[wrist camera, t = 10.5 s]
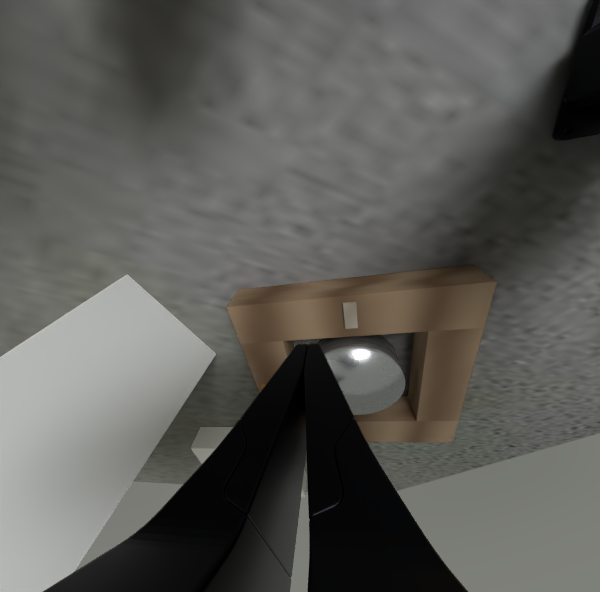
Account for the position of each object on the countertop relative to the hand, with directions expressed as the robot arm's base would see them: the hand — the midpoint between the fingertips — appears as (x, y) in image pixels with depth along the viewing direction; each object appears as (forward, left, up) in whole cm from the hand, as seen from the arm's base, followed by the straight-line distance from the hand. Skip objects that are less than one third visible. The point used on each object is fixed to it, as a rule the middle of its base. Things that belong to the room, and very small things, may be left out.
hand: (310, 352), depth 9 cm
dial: (0, +13, -12) cm, 18 cm away
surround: (-2, +13, -12) cm, 18 cm away
